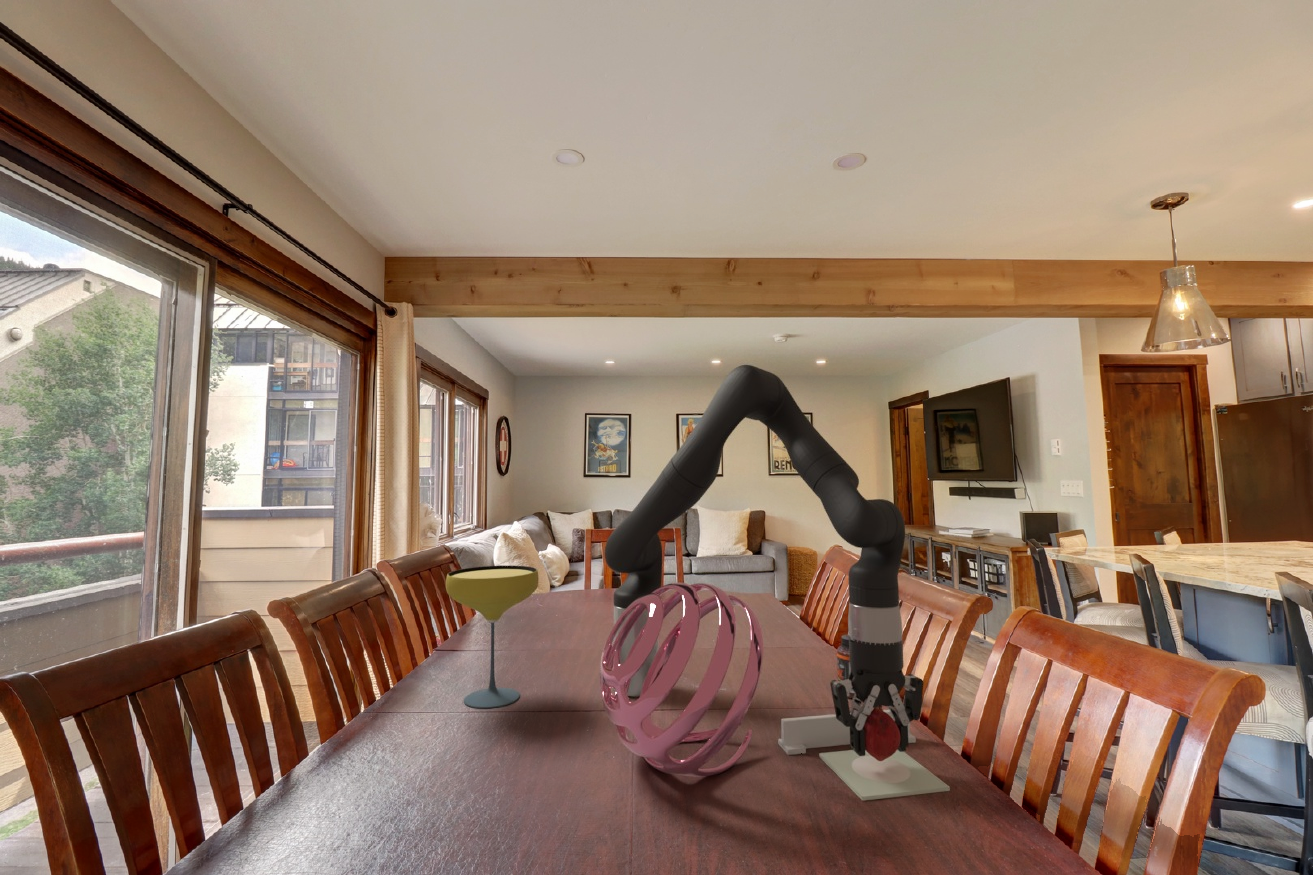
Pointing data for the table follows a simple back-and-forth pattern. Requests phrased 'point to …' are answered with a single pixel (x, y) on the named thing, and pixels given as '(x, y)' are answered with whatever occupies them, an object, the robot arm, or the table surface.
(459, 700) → the table surface
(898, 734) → the onion
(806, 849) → the table surface
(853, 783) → the mat
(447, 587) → the cocktail glass
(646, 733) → the spiral basket
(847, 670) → the supplement bottle
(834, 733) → the low fence
